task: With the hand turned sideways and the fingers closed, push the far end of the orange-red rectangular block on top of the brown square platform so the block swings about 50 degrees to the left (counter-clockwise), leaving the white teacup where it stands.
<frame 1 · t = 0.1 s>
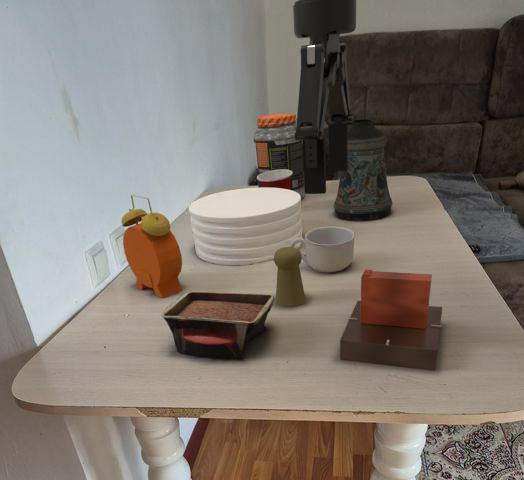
hand: (327, 181, 68), 26 cm above the table, tool pointing down, fingers open, 13 cm apart
olive pepper shaker: (290, 303, 95), on the table
orange-red rectangular block: (394, 298, 74), point 8 cm above the table, hinge at 0.0°
baking dish: (223, 343, 84), on the table
alarm clock: (160, 289, 107), on the table
teacup: (322, 269, 108), on the table
beer stein: (357, 215, 142), on the table
brown square platform: (392, 344, 78), on the table
plate stack: (249, 246, 126), on the table
supplement tub: (282, 199, 165), on the table
plastic cup: (277, 214, 150), on the table
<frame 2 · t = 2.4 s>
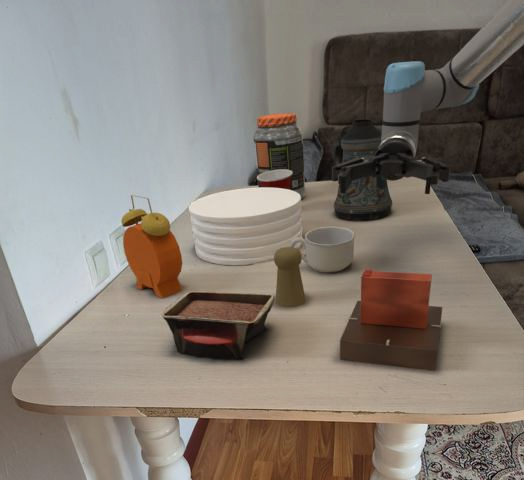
hand: (384, 185, 79), 22 cm above the table, tool horizontal, fingers open, 13 cm apart
nothing on the table moved.
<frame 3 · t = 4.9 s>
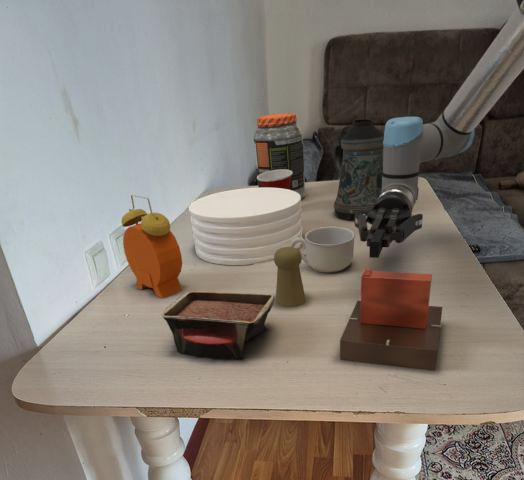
hand: (374, 249, 80), 13 cm above the table, tool horizontal, fingers closed
nothing on the table moved.
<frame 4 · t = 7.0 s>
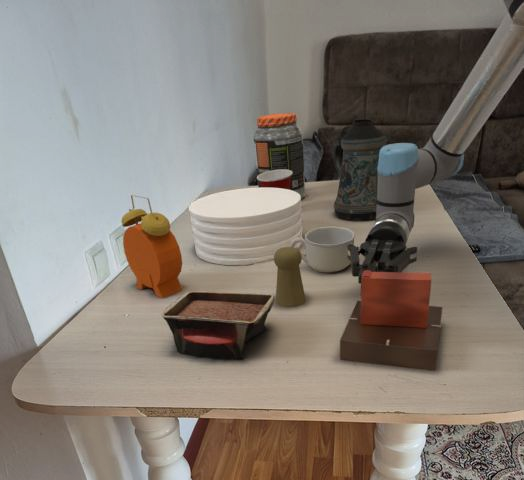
hand: (365, 288, 76), 9 cm above the table, tool horizontal, fingers closed
orange-red rectangular block: (394, 298, 74), point 8 cm above the table, hinge at 4.0°, touching gripper
everything else where it was.
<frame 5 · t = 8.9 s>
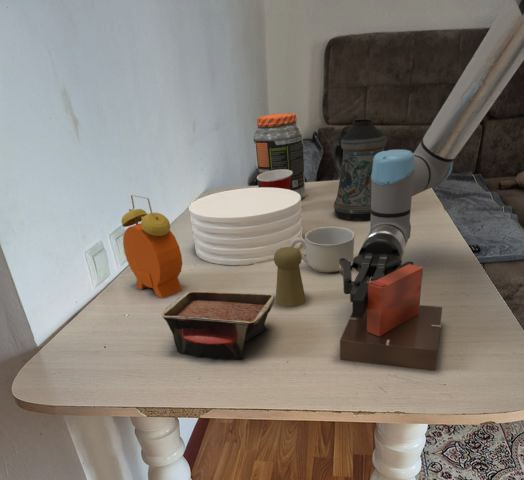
hand: (357, 308, 71), 9 cm above the table, tool horizontal, fingers closed
orange-red rectangular block: (394, 298, 74), point 8 cm above the table, hinge at 60.1°, touching gripper
everything else where it was.
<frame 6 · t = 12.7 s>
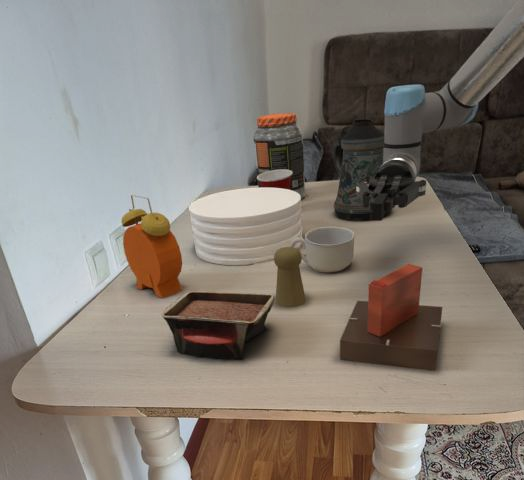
hand: (377, 212, 77), 19 cm above the table, tool horizontal, fingers closed
orange-red rectangular block: (394, 298, 74), point 8 cm above the table, hinge at 61.5°
everything else where it was.
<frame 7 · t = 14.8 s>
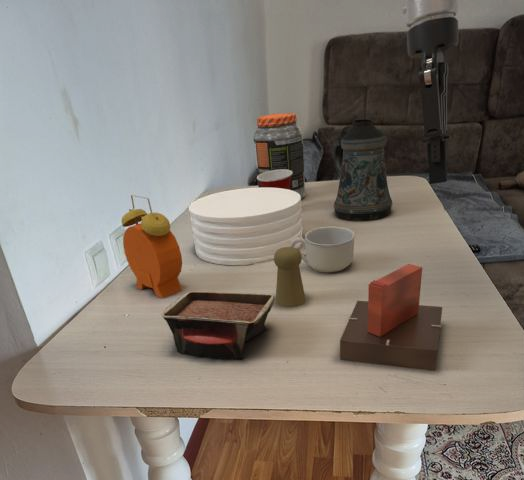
hand: (438, 182, 82), 21 cm above the table, tool pointing down, fingers closed
nothing on the table moved.
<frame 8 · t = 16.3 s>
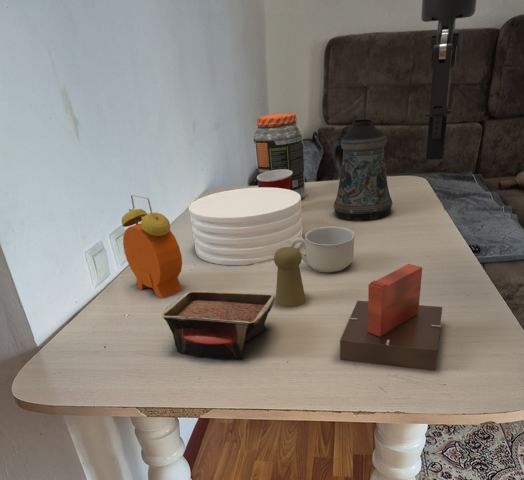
hand: (434, 158, 82), 24 cm above the table, tool pointing down, fingers closed
nothing on the table moved.
at the end: orange-red rectangular block at +62° (first picture: +0°); teacup moved 0.2 cm from its start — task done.
